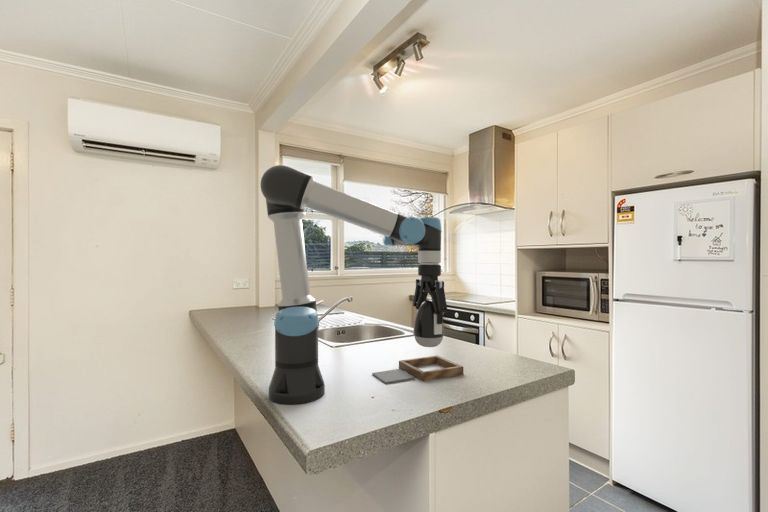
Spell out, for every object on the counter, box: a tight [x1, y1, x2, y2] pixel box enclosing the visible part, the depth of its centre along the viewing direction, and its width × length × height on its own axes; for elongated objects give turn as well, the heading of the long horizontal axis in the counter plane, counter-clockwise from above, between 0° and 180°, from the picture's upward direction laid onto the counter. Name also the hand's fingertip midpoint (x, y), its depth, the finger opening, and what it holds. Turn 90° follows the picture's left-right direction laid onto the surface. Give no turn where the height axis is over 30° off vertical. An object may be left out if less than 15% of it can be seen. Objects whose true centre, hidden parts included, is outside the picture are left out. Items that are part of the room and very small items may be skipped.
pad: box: [371, 368, 416, 385], centre depth 118 cm, size 10×10×1 cm
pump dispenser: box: [412, 299, 445, 348], centre depth 123 cm, size 10×10×15 cm
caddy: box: [398, 355, 464, 382], centre depth 123 cm, size 15×15×2 cm
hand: (429, 331), depth 123 cm, fingers closed on pump dispenser, 10 cm apart
